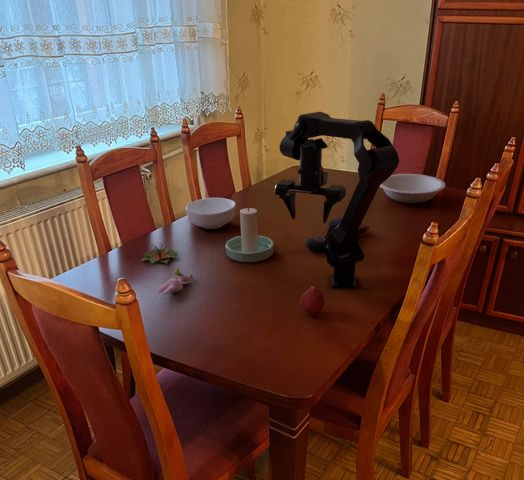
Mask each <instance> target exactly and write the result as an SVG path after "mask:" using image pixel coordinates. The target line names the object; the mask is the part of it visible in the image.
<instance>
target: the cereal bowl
mask: <svg viewBox="0 0 524 480" xmlns="http://www.w3.org/2000/svg"><path fill="white" fill-rule="evenodd" d="M236 209H237V208H236V202H235V200H232V199H230V198H225V197H204V198H200V199H196V200H193V201H191V202H189V203H188V204H187V205H186V207H185V211H186V216H187V219H188V221H189V222H191V223H192V224H193V225H194V226H197V227H200V228H202V229H206V230H216V229H220V228H222V227H224V226H225V225H227V224H228V223H230V222H231V221H232V220H233V219H234V217H235V215H236Z"/></svg>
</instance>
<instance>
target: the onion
mask: <svg viewBox="0 0 524 480" xmlns="http://www.w3.org/2000/svg"><path fill="white" fill-rule="evenodd" d="M325 305H326V299H325V295H324V294H323V292H321V290H319V289H318V288H316V287H315V286H313V285H311V286H310V287H309V288H308V289H307V290H306V291H305V292H304V293H303V294H302V296H301V298H300V306H301V308H302V310H303V311H304V312H305V313H307V314H308V315H310V316H311V317H312V316H316V315H318V314H319V313H320V312H322V311H323V309H324V307H325Z"/></svg>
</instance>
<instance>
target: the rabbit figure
mask: <svg viewBox="0 0 524 480" xmlns="http://www.w3.org/2000/svg"><path fill="white" fill-rule="evenodd" d="M174 276H176V277H177V278H173V277H172V278H169V279H168V280H166V282H165V283H163V284H161V285H159V287H158V288H157V293H158V294H159V295H160V294H161V293H162V292H163V295H166V294H168V293H178V292H179V291H182V290H183V289H184V286H183V285H187V284H191V283H192V280H193V279H194V276H193V274H189V275H187V274H185V273H184V272H180V269H179V268H177V269H175V270H174Z"/></svg>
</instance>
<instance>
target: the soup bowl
mask: <svg viewBox="0 0 524 480" xmlns="http://www.w3.org/2000/svg"><path fill="white" fill-rule="evenodd" d="M379 188H381V189H382V190H383V192H384V193H385V194H386V196H387V197H389V198H390V199H392V200H394V201H396V202H399V203H404V204H405V203H406V204H419V203H424V202H427V201H429V200H432V199H433V198H434V197H436V196H437V195H438V193H439V192H440V191H442V190H444V189H446V183H445V181H443V180H442V179H440V178H438V177H434V176H431V175H426V174H418V173H395V174H392V175H391V176H390V177H389V178H388V179H387V180H386V181H385V182H383V183H382V184H381V185H380V186H379Z"/></svg>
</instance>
